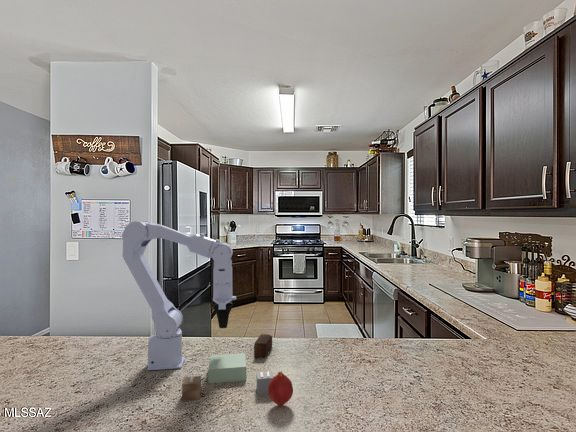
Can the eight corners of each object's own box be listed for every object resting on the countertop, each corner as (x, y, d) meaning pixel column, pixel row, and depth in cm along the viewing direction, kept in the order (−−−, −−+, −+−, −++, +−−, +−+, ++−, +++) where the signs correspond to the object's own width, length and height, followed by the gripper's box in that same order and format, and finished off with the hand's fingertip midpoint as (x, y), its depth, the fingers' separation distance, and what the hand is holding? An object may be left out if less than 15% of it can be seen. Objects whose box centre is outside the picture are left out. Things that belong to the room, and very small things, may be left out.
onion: (267, 399, 86) (267, 366, 86) (291, 398, 86) (291, 365, 86) (268, 413, 80) (268, 377, 80) (294, 411, 80) (294, 375, 80)
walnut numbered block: (182, 401, 86) (182, 383, 86) (184, 393, 90) (184, 376, 90) (199, 399, 86) (199, 382, 86) (200, 392, 90) (200, 375, 90)
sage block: (208, 384, 95) (208, 369, 95) (210, 368, 105) (210, 355, 105) (246, 381, 96) (246, 366, 96) (245, 366, 106) (245, 352, 106)
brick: (266, 358, 111) (266, 343, 111) (253, 358, 112) (253, 343, 112) (272, 346, 122) (272, 333, 122) (261, 346, 122) (261, 332, 123)
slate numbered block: (257, 395, 88) (257, 378, 88) (256, 387, 92) (256, 371, 92) (273, 394, 89) (273, 377, 89) (272, 386, 93) (271, 370, 93)
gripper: (236, 286, 102) (236, 334, 102) (236, 278, 117) (236, 320, 117) (211, 287, 101) (211, 335, 101) (214, 279, 116) (214, 321, 116)
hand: (223, 327), depth 109 cm, fingers closed
